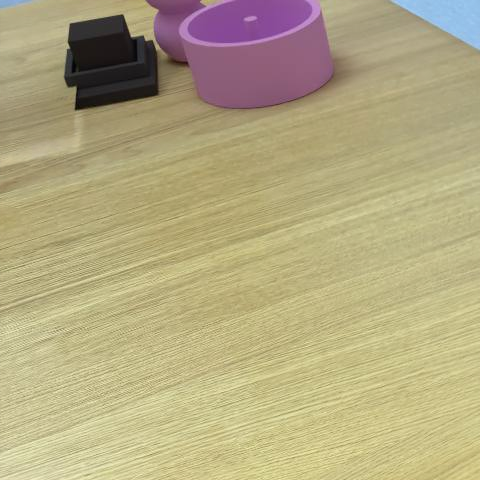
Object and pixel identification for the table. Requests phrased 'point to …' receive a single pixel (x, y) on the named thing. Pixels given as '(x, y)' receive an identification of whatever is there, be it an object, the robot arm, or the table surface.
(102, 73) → the base pad
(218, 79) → the container set
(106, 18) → the black rectangular block
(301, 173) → the table surface
